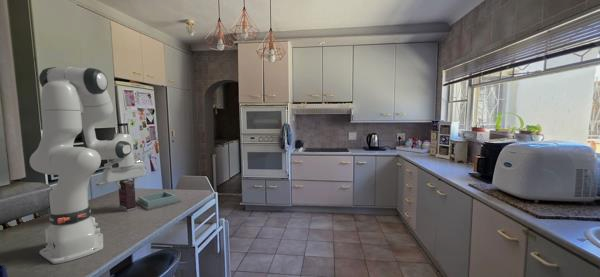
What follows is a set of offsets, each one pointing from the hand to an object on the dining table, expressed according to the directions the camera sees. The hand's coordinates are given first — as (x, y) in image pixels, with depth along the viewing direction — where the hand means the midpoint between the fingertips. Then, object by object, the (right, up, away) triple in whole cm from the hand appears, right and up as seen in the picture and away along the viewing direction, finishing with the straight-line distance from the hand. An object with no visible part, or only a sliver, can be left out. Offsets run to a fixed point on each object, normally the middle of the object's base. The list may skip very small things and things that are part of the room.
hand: (126, 187), depth 141 cm
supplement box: (0, -12, +1) cm, 12 cm away
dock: (+11, -11, +12) cm, 19 cm away
